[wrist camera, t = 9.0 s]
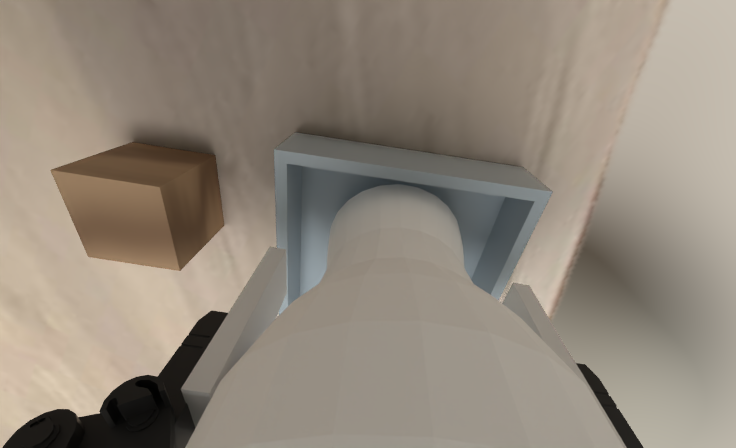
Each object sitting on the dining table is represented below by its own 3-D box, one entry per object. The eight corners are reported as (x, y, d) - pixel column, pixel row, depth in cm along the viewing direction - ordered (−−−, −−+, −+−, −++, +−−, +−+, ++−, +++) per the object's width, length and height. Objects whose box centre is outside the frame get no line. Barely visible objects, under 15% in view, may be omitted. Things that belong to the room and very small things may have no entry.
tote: (295, 132, 17) (273, 149, 13) (523, 167, 17) (552, 192, 14) (293, 361, 27) (281, 399, 24) (432, 381, 27) (437, 421, 24)
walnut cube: (133, 141, 18) (50, 169, 13) (215, 154, 18) (159, 187, 13) (153, 213, 20) (88, 256, 16) (224, 224, 20) (179, 271, 16)
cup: (406, 110, 14) (737, 1276, 1) (521, 252, 17) (934, 874, 4) (270, 235, 18) (-60, 731, 5) (385, 328, 21) (377, 760, 8)
